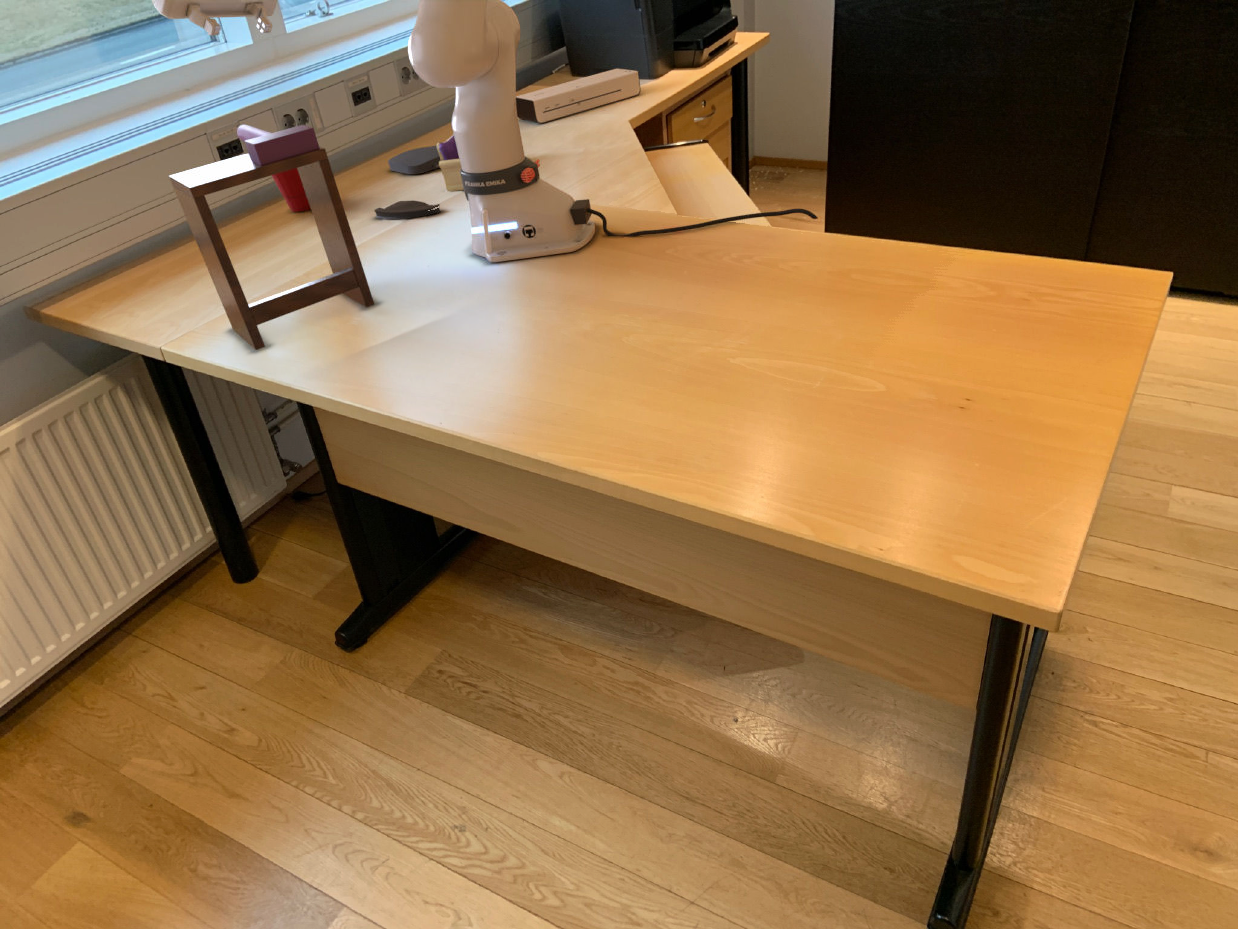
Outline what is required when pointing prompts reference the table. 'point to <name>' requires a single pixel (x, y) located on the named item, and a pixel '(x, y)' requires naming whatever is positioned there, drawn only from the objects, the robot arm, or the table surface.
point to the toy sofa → (450, 164)
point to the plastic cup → (292, 190)
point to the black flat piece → (406, 210)
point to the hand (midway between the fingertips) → (242, 30)
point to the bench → (327, 219)
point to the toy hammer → (277, 143)
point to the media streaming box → (416, 160)
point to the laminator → (578, 95)
